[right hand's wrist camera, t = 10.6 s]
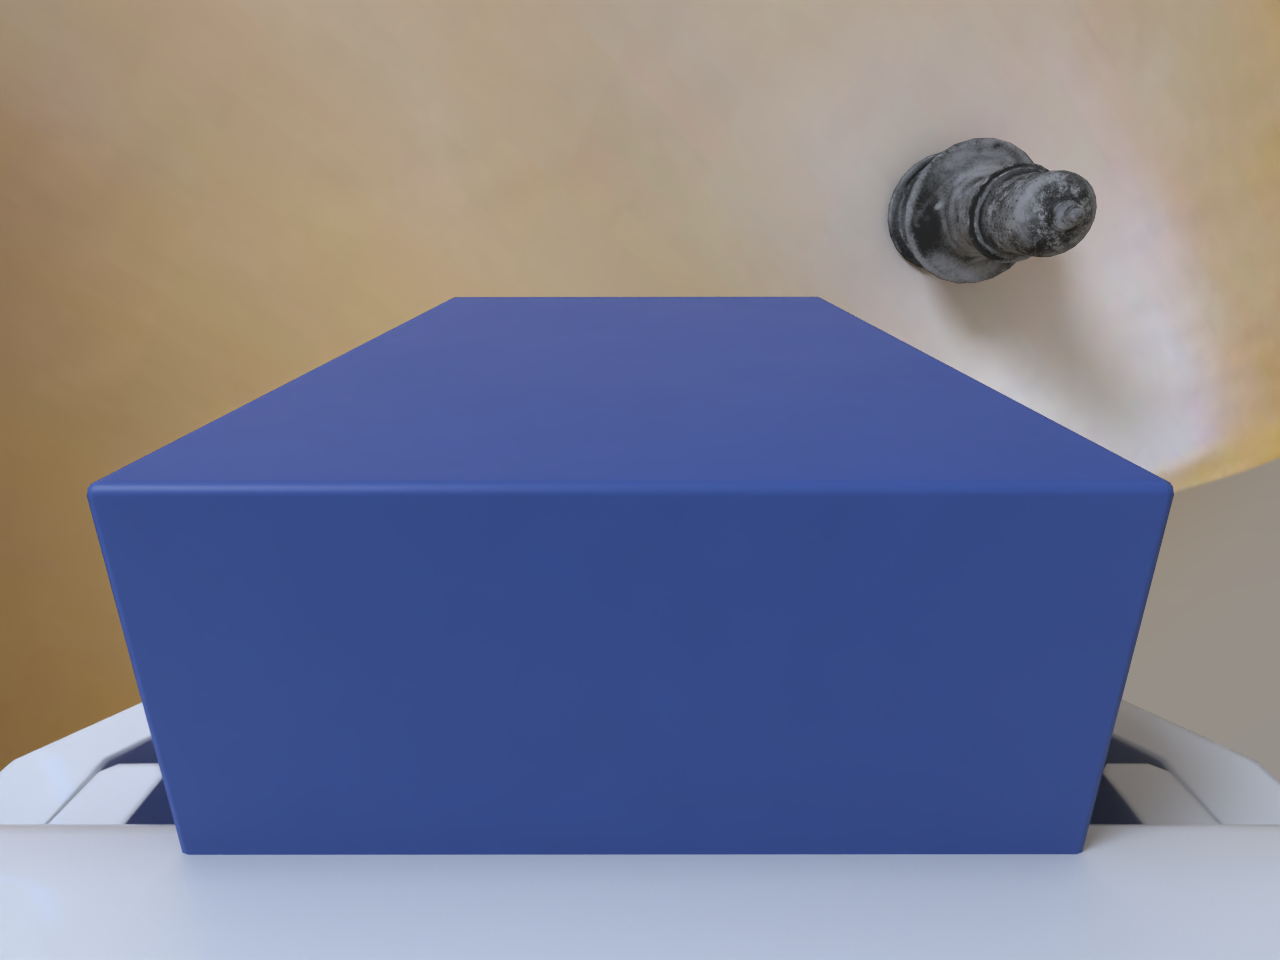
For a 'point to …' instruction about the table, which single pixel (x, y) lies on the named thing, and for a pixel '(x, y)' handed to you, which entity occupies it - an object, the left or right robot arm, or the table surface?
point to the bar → (631, 594)
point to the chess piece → (986, 211)
